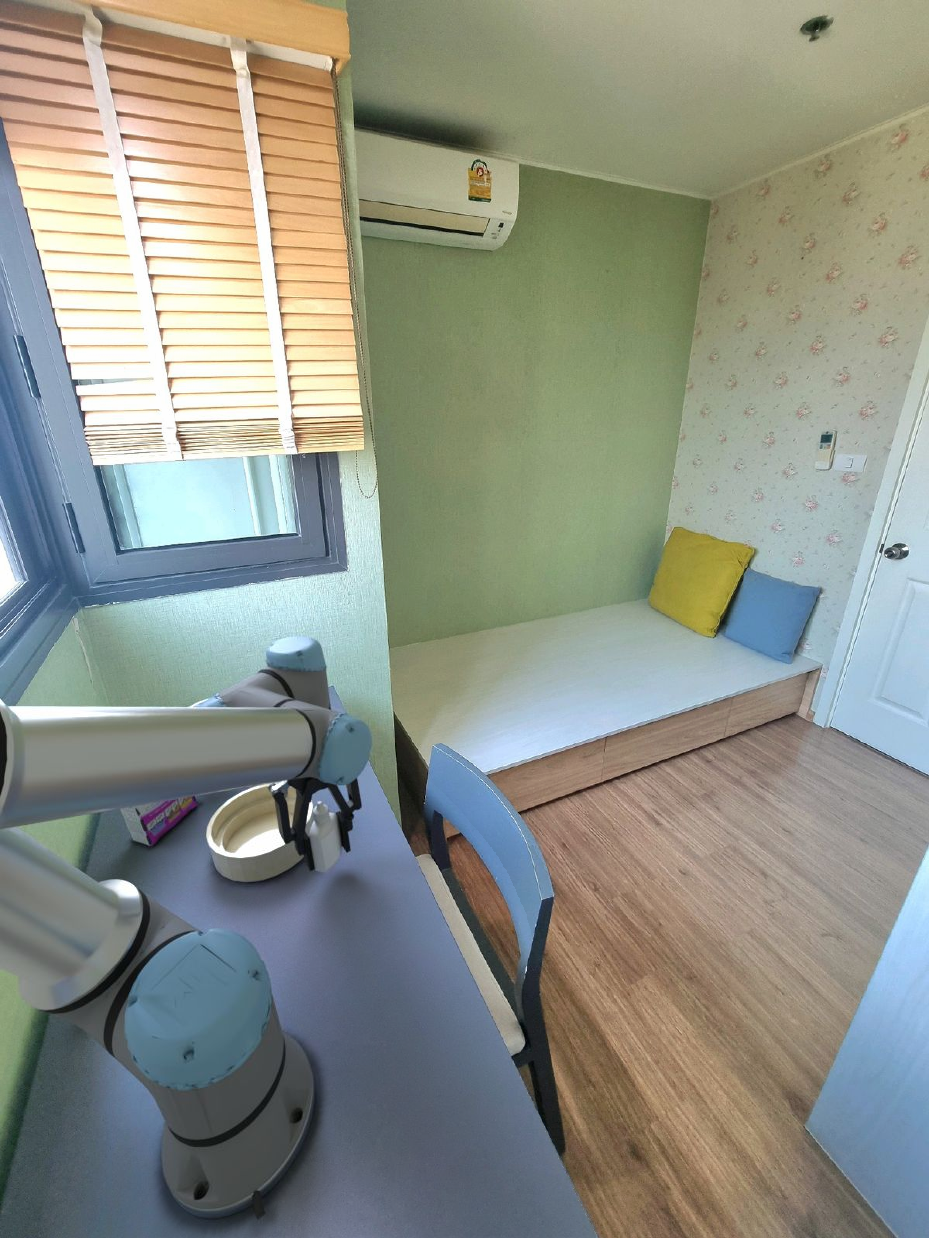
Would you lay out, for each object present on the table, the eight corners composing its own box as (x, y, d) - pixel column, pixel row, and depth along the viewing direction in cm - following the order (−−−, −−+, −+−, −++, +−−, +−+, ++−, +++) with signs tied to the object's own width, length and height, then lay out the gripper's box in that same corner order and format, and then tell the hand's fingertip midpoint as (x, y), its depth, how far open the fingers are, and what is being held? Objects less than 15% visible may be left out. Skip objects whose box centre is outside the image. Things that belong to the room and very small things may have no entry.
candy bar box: (179, 799, 103) (157, 731, 97) (198, 805, 102) (178, 736, 96) (130, 841, 94) (102, 769, 87) (150, 848, 92) (124, 774, 86)
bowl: (332, 849, 91) (328, 823, 88) (228, 903, 81) (219, 876, 79) (297, 794, 104) (293, 770, 102) (204, 835, 94) (196, 810, 92)
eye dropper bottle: (350, 857, 85) (342, 800, 81) (319, 877, 82) (309, 818, 77) (337, 843, 88) (328, 787, 84) (307, 861, 85) (296, 803, 80)
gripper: (355, 706, 84) (368, 817, 93) (237, 748, 74) (264, 868, 83) (376, 726, 78) (388, 842, 87) (251, 775, 68) (279, 901, 77)
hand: (327, 855), depth 85 cm, fingers closed on eye dropper bottle, 5 cm apart
